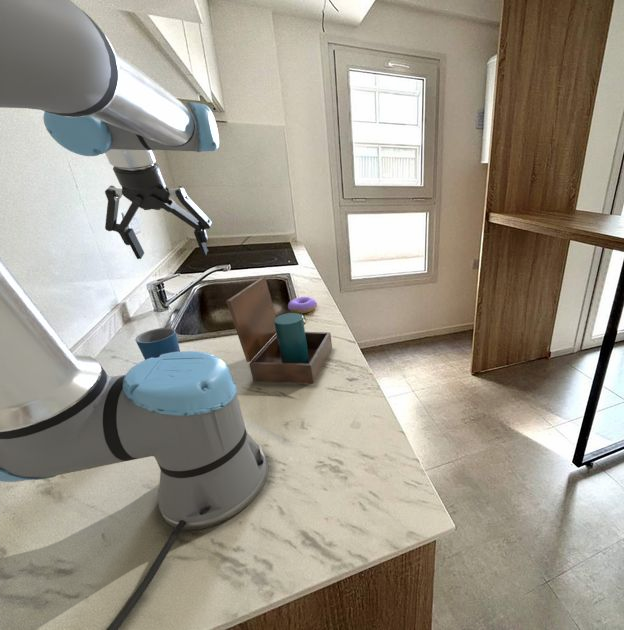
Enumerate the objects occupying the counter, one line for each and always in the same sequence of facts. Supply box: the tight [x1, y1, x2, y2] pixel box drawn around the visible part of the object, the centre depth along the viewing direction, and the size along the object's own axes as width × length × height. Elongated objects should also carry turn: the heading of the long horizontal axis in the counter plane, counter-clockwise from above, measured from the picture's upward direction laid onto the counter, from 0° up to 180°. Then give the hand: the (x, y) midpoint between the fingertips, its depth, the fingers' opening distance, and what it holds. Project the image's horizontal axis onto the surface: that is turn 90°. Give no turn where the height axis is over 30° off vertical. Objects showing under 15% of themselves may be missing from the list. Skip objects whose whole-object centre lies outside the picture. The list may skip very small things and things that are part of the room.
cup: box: [135, 327, 181, 360], centre depth 73 cm, size 7×7×15 cm
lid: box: [225, 276, 277, 363], centre depth 81 cm, size 15×17×1 cm
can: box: [274, 312, 309, 364], centre depth 84 cm, size 7×7×13 cm
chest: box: [248, 331, 333, 384], centre depth 86 cm, size 15×17×6 cm
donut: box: [287, 296, 318, 314], centre depth 119 cm, size 10×9×5 cm
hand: (173, 254), depth 81 cm, fingers open, 13 cm apart
